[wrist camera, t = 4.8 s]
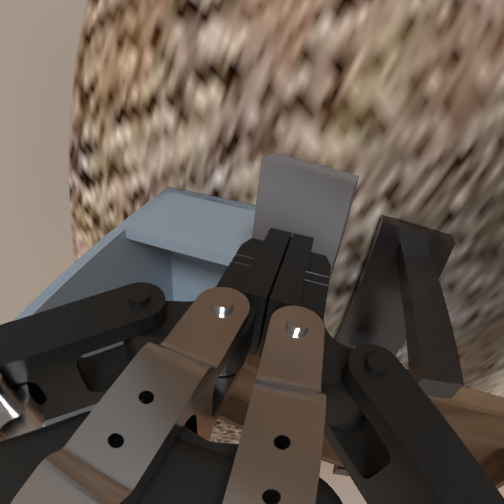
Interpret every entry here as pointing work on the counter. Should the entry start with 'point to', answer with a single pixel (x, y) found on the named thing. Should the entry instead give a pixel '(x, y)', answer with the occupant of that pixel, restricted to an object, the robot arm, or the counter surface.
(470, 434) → the lever
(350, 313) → the lever stand
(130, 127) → the counter surface
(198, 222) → the grey-blue open bin
